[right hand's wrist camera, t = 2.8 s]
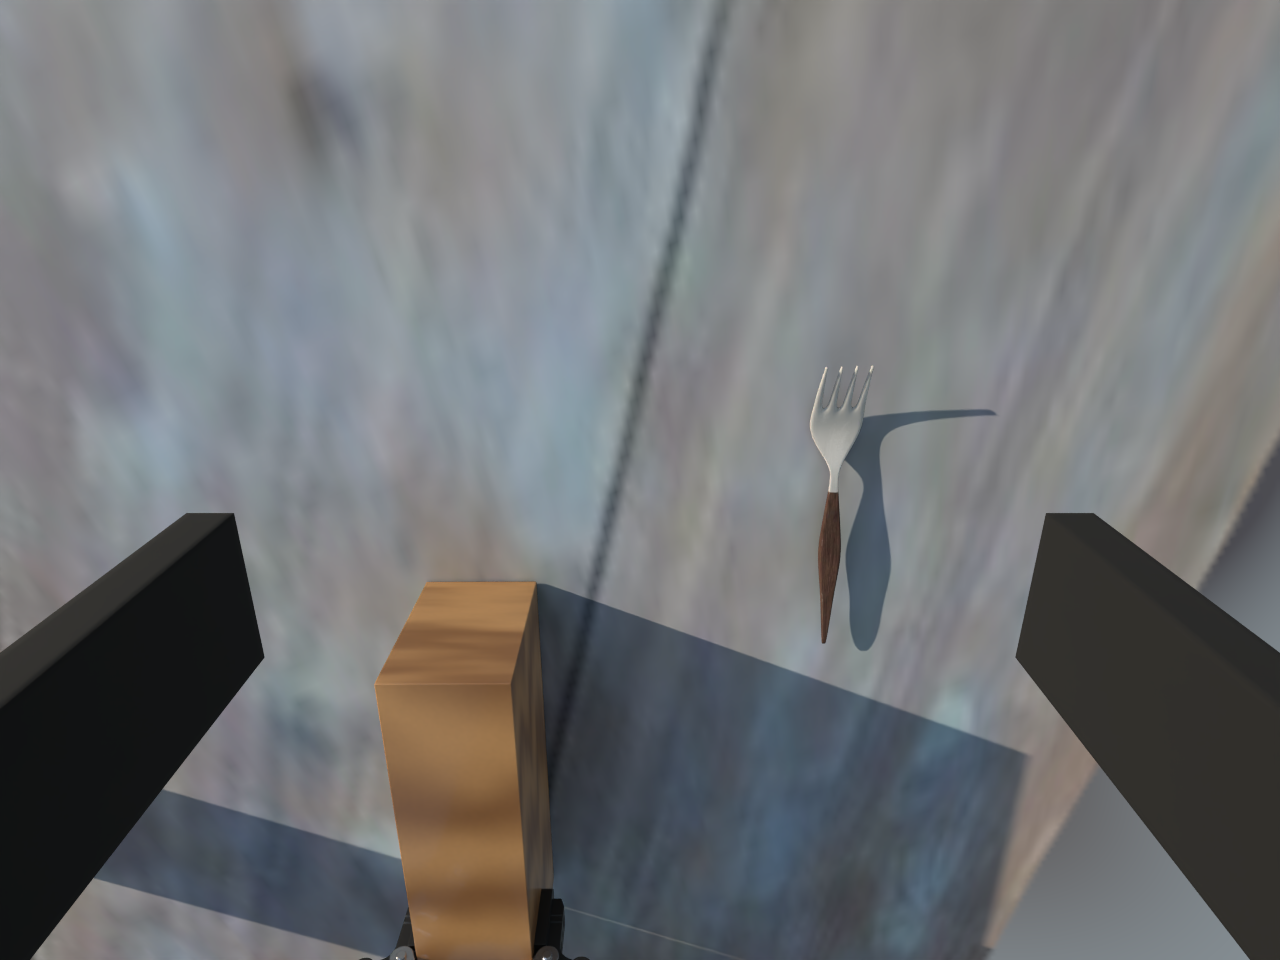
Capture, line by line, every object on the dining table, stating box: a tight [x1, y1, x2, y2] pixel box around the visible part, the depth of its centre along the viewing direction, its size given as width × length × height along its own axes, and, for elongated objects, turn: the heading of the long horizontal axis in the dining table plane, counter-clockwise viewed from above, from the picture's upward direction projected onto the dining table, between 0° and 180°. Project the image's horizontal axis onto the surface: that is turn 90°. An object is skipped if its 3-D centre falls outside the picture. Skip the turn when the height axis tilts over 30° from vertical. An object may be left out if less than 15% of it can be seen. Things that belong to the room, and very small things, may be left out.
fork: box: [810, 365, 874, 643], centre depth 39 cm, size 3×16×2 cm, turn 2°
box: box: [374, 582, 554, 960], centre depth 42 cm, size 22×6×9 cm, turn 0°
